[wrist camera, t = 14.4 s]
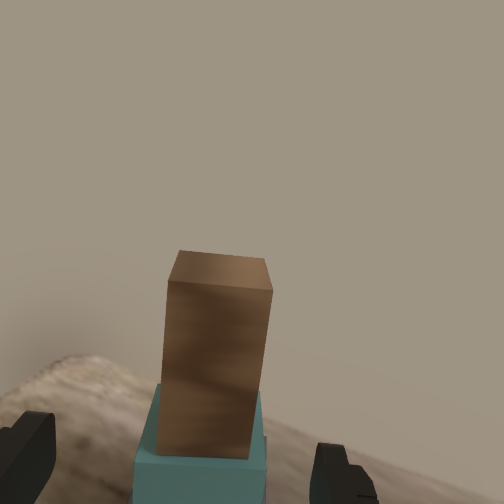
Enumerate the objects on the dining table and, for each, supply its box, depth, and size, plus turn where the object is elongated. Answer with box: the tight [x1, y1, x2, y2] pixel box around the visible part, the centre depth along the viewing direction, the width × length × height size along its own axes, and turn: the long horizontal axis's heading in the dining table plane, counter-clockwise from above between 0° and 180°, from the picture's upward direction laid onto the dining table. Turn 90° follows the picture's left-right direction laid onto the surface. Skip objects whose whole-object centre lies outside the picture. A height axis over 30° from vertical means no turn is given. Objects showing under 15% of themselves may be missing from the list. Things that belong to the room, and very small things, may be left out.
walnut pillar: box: [156, 250, 273, 460], centre depth 24 cm, size 5×5×10 cm
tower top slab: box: [133, 384, 267, 504], centre depth 26 cm, size 7×7×4 cm
